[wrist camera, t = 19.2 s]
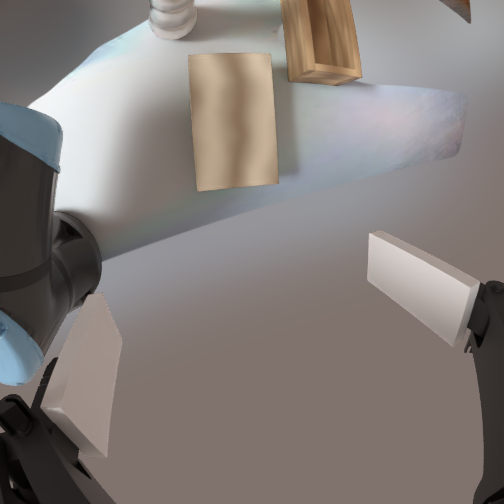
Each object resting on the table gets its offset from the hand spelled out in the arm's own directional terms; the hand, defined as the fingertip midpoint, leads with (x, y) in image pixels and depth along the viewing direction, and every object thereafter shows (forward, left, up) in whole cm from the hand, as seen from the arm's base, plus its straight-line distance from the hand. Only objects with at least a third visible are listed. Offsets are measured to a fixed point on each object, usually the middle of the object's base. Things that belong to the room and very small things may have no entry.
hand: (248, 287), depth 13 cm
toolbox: (+17, +27, -27) cm, 42 cm away
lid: (+4, +10, -24) cm, 27 cm away
